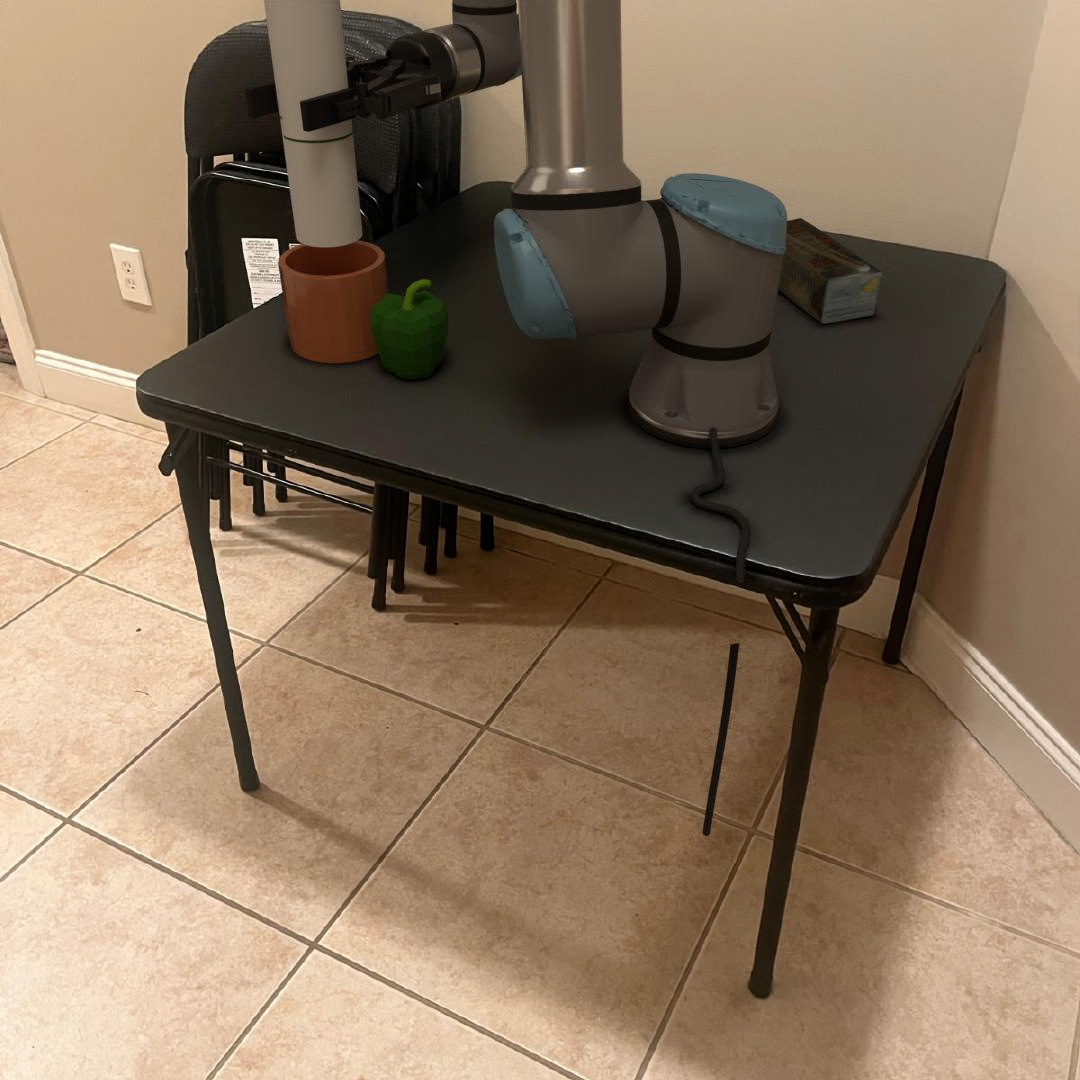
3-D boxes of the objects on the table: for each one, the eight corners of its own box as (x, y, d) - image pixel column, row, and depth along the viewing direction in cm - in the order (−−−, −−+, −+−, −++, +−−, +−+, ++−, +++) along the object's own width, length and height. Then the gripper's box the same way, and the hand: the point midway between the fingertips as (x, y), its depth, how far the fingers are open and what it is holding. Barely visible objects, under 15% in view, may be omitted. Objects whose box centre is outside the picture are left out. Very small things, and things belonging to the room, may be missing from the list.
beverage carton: (818, 326, 123) (828, 274, 119) (742, 268, 138) (749, 220, 134) (875, 317, 125) (886, 265, 121) (795, 261, 140) (802, 213, 136)
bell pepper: (378, 390, 109) (369, 302, 103) (372, 356, 116) (364, 271, 110) (456, 383, 111) (451, 296, 105) (446, 350, 117) (442, 266, 111)
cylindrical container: (356, 220, 115) (331, -31, 100) (368, 243, 110) (343, -19, 95) (292, 227, 114) (256, -28, 98) (301, 250, 108) (265, -16, 93)
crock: (393, 360, 115) (386, 275, 109) (288, 366, 114) (275, 280, 108) (390, 317, 124) (383, 236, 118) (292, 322, 123) (280, 241, 117)
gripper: (501, 117, 112) (353, 168, 98) (369, 89, 122) (215, 132, 107) (500, 43, 108) (345, 84, 93) (363, 19, 117) (202, 54, 103)
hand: (276, 110), depth 100 cm, fingers closed on cylindrical container, 7 cm apart
